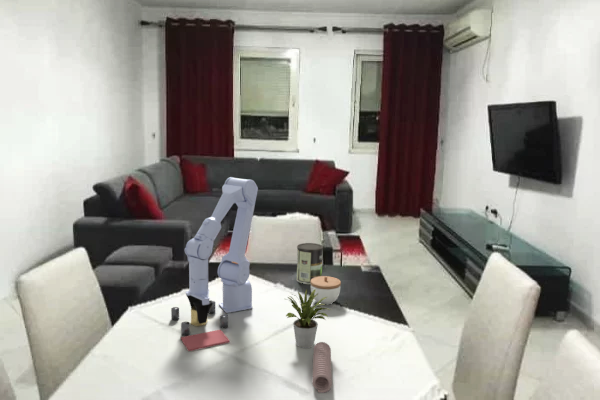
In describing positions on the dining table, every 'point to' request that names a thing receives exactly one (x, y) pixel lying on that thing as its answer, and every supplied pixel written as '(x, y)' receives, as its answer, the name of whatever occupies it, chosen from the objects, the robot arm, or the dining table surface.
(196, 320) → the brass nut
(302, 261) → the coffee can
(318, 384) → the coil
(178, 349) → the dining table surface
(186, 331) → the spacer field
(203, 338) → the red mat
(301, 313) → the house plant
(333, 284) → the lidded jar
